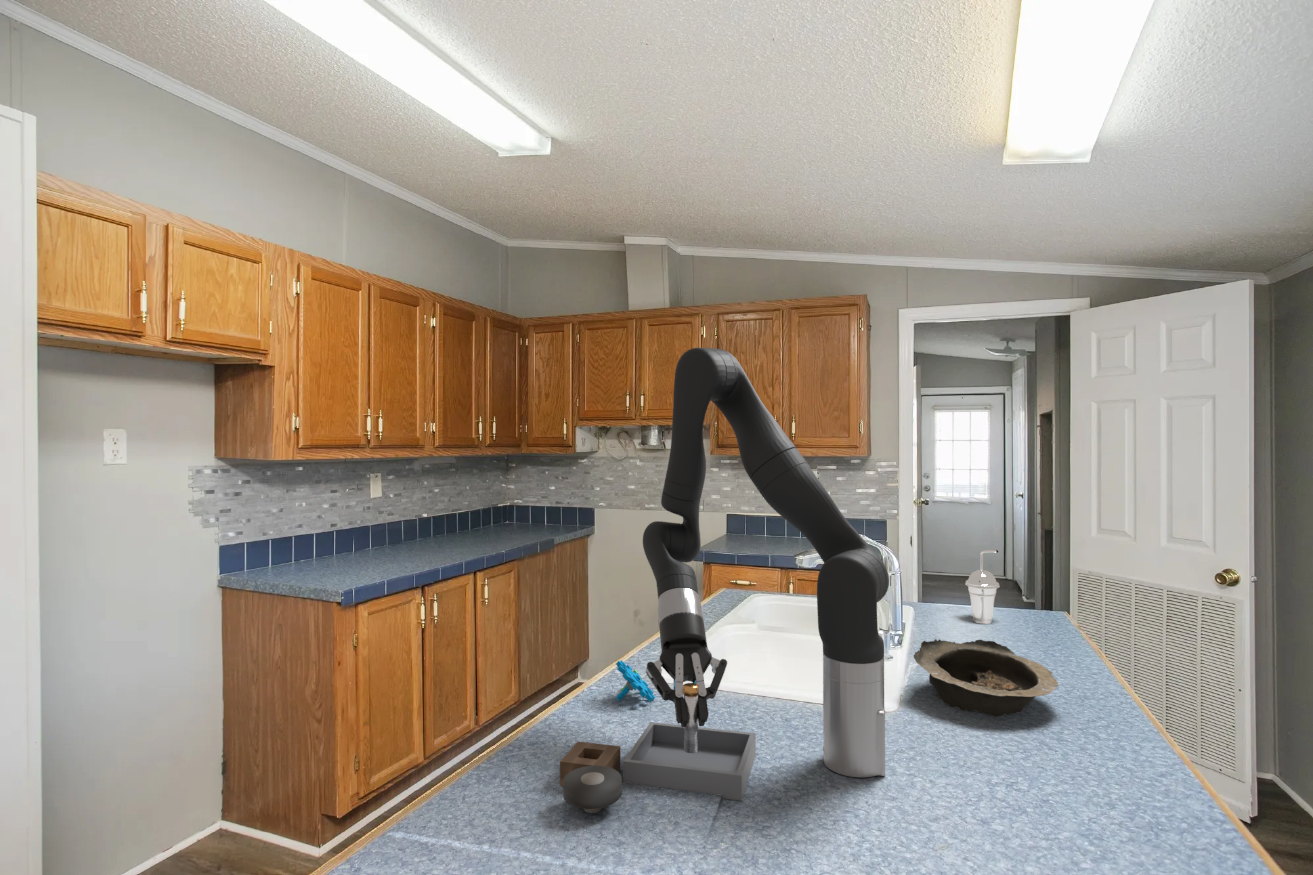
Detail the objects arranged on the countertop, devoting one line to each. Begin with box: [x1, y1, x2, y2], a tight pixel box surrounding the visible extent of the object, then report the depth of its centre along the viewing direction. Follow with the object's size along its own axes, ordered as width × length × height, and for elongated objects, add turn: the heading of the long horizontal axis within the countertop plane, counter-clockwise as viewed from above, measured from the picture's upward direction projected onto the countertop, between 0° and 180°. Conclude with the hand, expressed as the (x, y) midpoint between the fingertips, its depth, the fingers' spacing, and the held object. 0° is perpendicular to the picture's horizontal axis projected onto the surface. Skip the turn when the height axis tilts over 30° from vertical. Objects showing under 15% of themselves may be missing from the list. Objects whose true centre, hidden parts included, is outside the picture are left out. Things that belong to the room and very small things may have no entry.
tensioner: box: [559, 741, 623, 814], centre depth 104 cm, size 11×16×5 cm
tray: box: [622, 721, 757, 802], centre depth 111 cm, size 18×15×4 cm
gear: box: [615, 660, 656, 703], centre depth 141 cm, size 11×6×10 cm
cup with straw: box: [965, 549, 1001, 625], centre depth 193 cm, size 8×9×20 cm
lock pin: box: [683, 682, 699, 753], centre depth 111 cm, size 2×2×10 cm
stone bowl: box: [913, 638, 1060, 717], centre depth 138 cm, size 25×25×9 cm
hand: (693, 724), depth 109 cm, fingers closed on lock pin, 2 cm apart
